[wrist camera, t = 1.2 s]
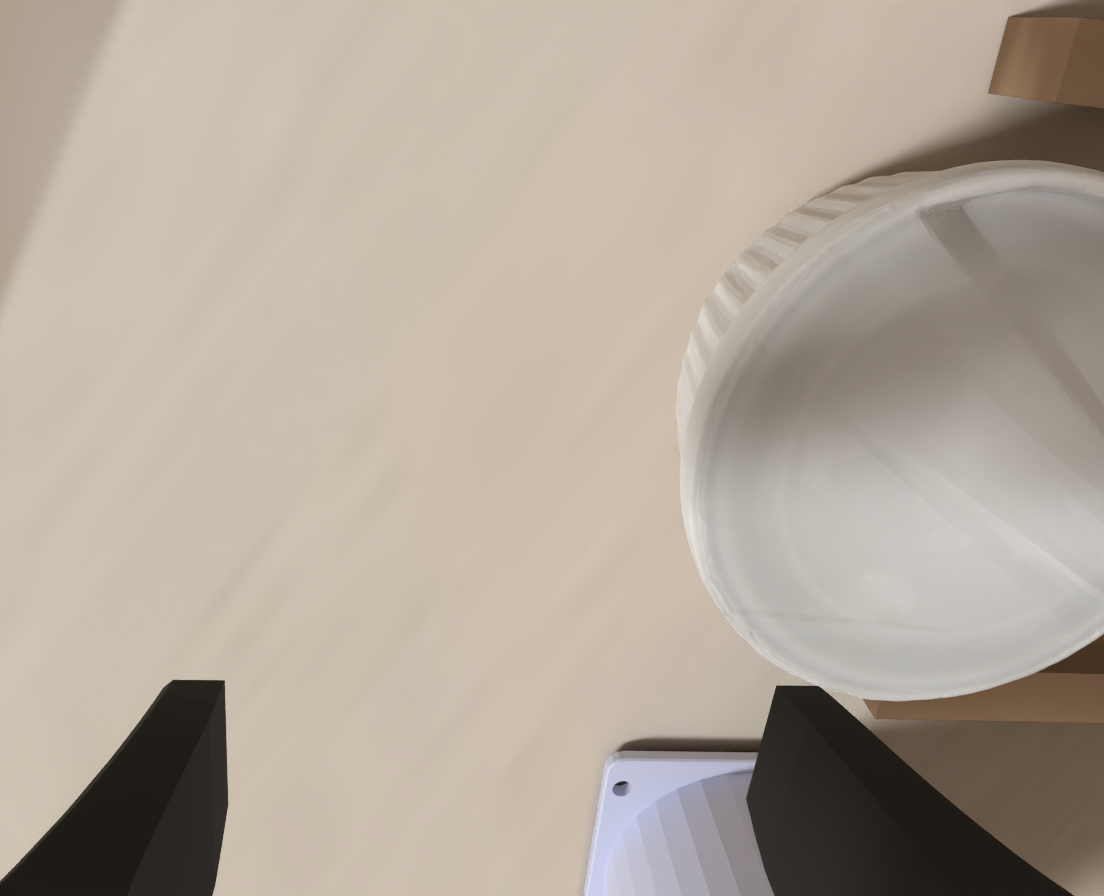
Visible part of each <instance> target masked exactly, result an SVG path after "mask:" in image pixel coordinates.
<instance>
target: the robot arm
mask: <svg viewBox="0 0 1104 896" xmlns="http://www.w3.org/2000/svg"><path fill="white" fill-rule="evenodd" d="M621 781H626V782H627V783H625V784H624V785H621V786H616V785H615V784H616V783H618V782H621ZM227 808H228V784H227V748H226V713H225V681H224V680H173V681H171V682H170V683H169V684H167V685H166V686H165V687H164V688H163V689H162V691H161V692H160V694H159V695H158V697H157V698H156V699H155V701H154V702H153V704H152V705H151V706H150V708H149V709H148V711H147V712H146V713H145V715H144V716H143V717H142V719H141V720H140V722H139V723H138V724H137V726H136V727H135V728H134V729H133V731H132V732H131V733H130V735H129V736H128V737H127V739H126V740H125V741H124V742H123V744H122V745H121V746H120V748H119V749H118V750H117V751H116V753H115V754H114V755H113V756H112V758H111V759H110V760H109V761H108V763H107V764H106V765H105V766H104V767H103V769H102V770H101V771H100V772H99V773H98V775H97V776H96V777H95V778H94V779H93V780H92V782H91V783H90V784H89V785H88V786H87V788H86V789H85V790H84V791H83V792H82V794H81V795H80V796H79V797H78V798H77V799H76V801H75V802H74V803H73V804H72V805H71V806H70V808H69V809H68V810H67V811H66V812H65V813H64V814H63V816H62V817H61V818H60V819H59V820H58V821H57V822H56V823H55V824H54V825H53V826H52V827H51V828H50V829H49V831H48V832H47V833H46V834H45V835H44V836H43V837H42V838H41V839H40V840H39V841H38V842H37V843H36V844H35V845H34V847H33V848H32V849H31V850H30V851H29V852H28V853H27V854H26V855H25V856H24V857H23V858H22V859H21V860H20V862H19V863H18V864H17V865H16V866H15V867H14V868H13V869H12V870H11V871H10V872H9V873H8V874H7V875H6V876H5V877H4V878H3V879H2V880H1V881H0V896H212V894H213V891H214V887H215V883H216V877H217V871H218V865H219V859H220V853H221V847H222V840H223V834H224V828H225V821H226V815H227ZM583 896H1074V895H1072V894H1071V893H1069V892H1068V891H1066V890H1065V889H1063V888H1062V887H1061V886H1059V885H1058V884H1056V883H1055V882H1053V881H1052V880H1051V879H1049V878H1048V877H1046V876H1045V875H1043V874H1042V873H1040V872H1039V871H1038V870H1036V869H1035V868H1034V867H1032V866H1031V865H1030V864H1028V863H1027V862H1025V861H1024V860H1023V859H1021V858H1020V857H1019V856H1017V855H1016V854H1015V853H1013V852H1012V851H1011V850H1010V849H1008V848H1007V847H1006V846H1004V845H1003V844H1002V843H1001V842H999V841H998V840H997V839H996V838H994V837H993V836H992V835H991V834H989V833H988V832H987V831H986V830H984V829H983V828H982V827H980V826H979V825H978V824H977V823H975V822H974V821H973V820H972V819H970V818H969V817H968V816H967V815H966V814H964V813H963V812H962V811H961V810H960V809H958V808H957V807H956V806H955V805H954V804H952V803H951V802H950V801H949V800H948V799H946V798H945V797H944V796H943V795H942V794H941V793H939V792H938V791H937V790H936V789H935V788H934V787H932V786H931V785H930V784H929V783H928V782H927V781H926V780H924V779H923V778H922V777H921V776H920V775H919V774H918V773H916V772H915V771H914V770H913V769H912V768H911V767H910V766H908V765H907V764H906V763H905V762H904V761H903V760H902V759H901V758H899V757H898V756H897V755H896V754H895V753H894V752H893V751H892V750H891V749H889V748H888V747H887V746H886V745H885V744H884V743H883V742H882V741H881V740H880V739H878V738H877V737H876V736H875V735H874V734H873V733H872V732H871V731H870V730H868V729H867V728H866V727H865V726H864V725H863V724H862V723H861V722H860V721H859V720H857V719H856V718H855V717H854V716H853V715H852V714H851V713H850V712H849V711H847V710H846V709H845V708H844V707H843V706H842V705H841V704H839V703H838V702H837V701H836V700H835V699H834V698H833V697H831V696H830V695H829V694H828V693H827V692H825V691H824V690H823V689H822V688H821V687H819V686H776V689H775V693H774V697H773V700H772V704H771V708H770V711H769V715H768V719H767V723H766V726H765V730H764V734H763V737H762V741H761V745H760V748H759V752H758V753H756V752H679V751H620V752H616V753H614V754H612V755H611V756H610V757H609V758H608V759H607V760H606V763H605V765H604V771H603V777H602V783H601V789H600V796H599V802H598V808H597V814H596V820H595V826H594V832H593V838H592V844H591V850H590V856H589V862H588V868H587V874H586V881H585V887H584V893H583Z"/></svg>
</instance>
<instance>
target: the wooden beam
mask: <svg viewBox="0 0 1104 896" xmlns="http://www.w3.org/2000/svg"><path fill="white" fill-rule="evenodd" d="M988 93H989V94H996V95H1003V96H1011V97H1018V98H1025V99H1032V100H1039V101H1046V102H1053V103H1061V104H1070V105H1078V106H1087V107H1095V108H1104V20H1097V19H1089V18H1081V17H1008V21H1007V24H1006V28H1005V32H1004V36H1003V39H1002V43H1001V47H1000V51H999V54H998V58H997V62H996V66H995V69H994V73H993V77H992V81H991V84H990V88H989V92H988ZM862 699H863V698H862ZM863 700H864V702H865V704H866V705H867V707H868V708H869V710H870V712H871V713H872V715H873V716H874V718H875V719H911V720H965V721H1018V722H1072V723H1104V634H1103V635H1102V636H1100V637H1099V638H1098V639H1096V640H1095V641H1093V642H1091V643H1090V644H1088V645H1087V646H1085V647H1083V648H1082V649H1080V650H1078V651H1077V652H1075V653H1073V654H1072V655H1071V656H1069V657H1067V658H1065V659H1063V660H1061V661H1059V662H1057V663H1055V664H1053V665H1050V666H1048V667H1046V668H1045V669H1043V670H1040V671H1038V672H1036V673H1033V674H1031V675H1029V676H1026V677H1023V678H1020V679H1017V680H1014V681H1011V682H1009V683H1005V684H1002V685H999V686H996V687H993V688H990V689H987V690H983V691H979V692H975V693H970V694H965V695H960V696H955V697H948V698H937V699H927V700H910V701H885V700H868V699H863Z"/></svg>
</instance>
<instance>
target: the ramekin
mask: <svg viewBox="0 0 1104 896" xmlns="http://www.w3.org/2000/svg"><path fill="white" fill-rule="evenodd" d="M676 419H677V426H678V430H677V435H678V444H679V450H680V455H681V468H680V494H681V506H682V514H683V520H684V525H685V530H686V534H687V539H688V542H689V545H690V549H691V552H692V554H693V557H694V560H695V563H696V565H697V568H698V571H699V574H700V577H701V579H702V581H703V583H704V584H705V586H706V588H707V589H708V591H709V593H710V594H711V596H712V598H713V599H714V601H715V603H716V604H717V606H718V607H719V609H720V610H721V612H722V613H723V615H724V616H725V617H726V619H727V620H728V621H729V622H730V624H731V625H732V626H733V627H734V629H735V630H736V631H737V632H738V633H739V634H740V635H741V636H742V637H743V638H744V639H745V640H746V641H747V642H748V643H749V644H750V645H751V646H752V647H753V648H754V649H755V650H756V651H757V652H758V653H760V654H761V655H763V656H764V657H765V658H767V659H768V660H769V661H771V662H772V663H774V664H775V665H777V666H779V667H780V668H782V669H784V670H786V671H787V672H789V673H791V674H793V675H795V676H797V677H799V678H801V679H803V680H806V681H808V682H810V683H812V684H815V685H817V686H820V687H822V688H825V689H828V690H831V691H835V692H841V693H847V694H850V695H852V696H855V697H858V698H863V699H868V700H885V701H910V700H927V699H937V698H948V697H955V696H960V695H965V694H970V693H975V692H979V691H983V690H987V689H990V688H993V687H996V686H999V685H1002V684H1005V683H1009V682H1011V681H1014V680H1017V679H1020V678H1023V677H1026V676H1029V675H1031V674H1033V673H1036V672H1038V671H1040V670H1043V669H1045V668H1046V667H1048V666H1050V665H1053V664H1055V663H1057V662H1059V661H1061V660H1063V659H1065V658H1067V657H1069V656H1071V655H1072V654H1073V653H1075V652H1077V651H1078V650H1080V649H1082V648H1083V647H1085V646H1087V645H1088V644H1090V643H1091V642H1093V641H1095V640H1096V639H1098V638H1099V637H1100V636H1102V635H1103V634H1104V172H1101V171H1098V170H1094V169H1089V168H1084V167H1080V166H1075V165H1070V164H1063V163H1056V162H1050V161H1038V160H1001V161H990V162H979V163H973V164H968V165H963V166H957V167H953V168H949V169H945V170H942V171H919V172H901V173H897V174H894V175H891V176H875V177H870V178H867V179H864V180H862V181H860V182H858V183H856V184H850V185H845V186H841V187H840V188H838V189H836V190H834V191H832V192H831V193H828V194H826V195H824V196H821V197H818V198H815V199H813V200H812V201H810V202H809V203H807V204H806V205H805V206H803V207H801V208H800V209H797V210H795V211H793V212H790V213H789V214H788V215H786V216H785V217H784V218H783V219H782V220H781V221H779V222H778V223H777V224H776V225H775V226H773V227H771V228H770V229H768V230H766V231H765V232H763V233H762V234H761V236H760V237H759V238H758V239H757V240H756V242H755V243H754V244H753V245H752V246H751V247H750V248H748V249H747V250H746V251H744V252H743V253H742V254H741V255H740V256H739V257H738V258H737V260H736V261H735V263H734V264H733V265H732V267H731V268H730V269H729V270H728V271H727V272H726V273H725V274H724V275H723V276H722V277H721V278H720V280H719V281H718V283H717V285H716V288H715V290H714V291H713V293H712V294H711V295H710V297H709V298H708V299H707V300H706V301H705V303H704V305H703V306H702V308H701V312H700V316H699V319H698V321H697V322H696V324H695V326H694V327H693V329H692V331H691V334H690V339H689V344H688V348H687V350H686V352H685V354H684V357H683V361H682V370H681V376H680V379H679V382H678V385H677V405H676Z"/></svg>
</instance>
